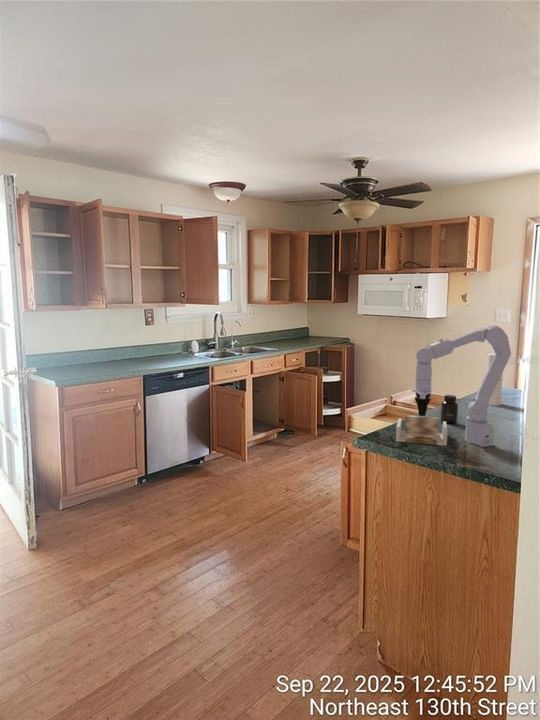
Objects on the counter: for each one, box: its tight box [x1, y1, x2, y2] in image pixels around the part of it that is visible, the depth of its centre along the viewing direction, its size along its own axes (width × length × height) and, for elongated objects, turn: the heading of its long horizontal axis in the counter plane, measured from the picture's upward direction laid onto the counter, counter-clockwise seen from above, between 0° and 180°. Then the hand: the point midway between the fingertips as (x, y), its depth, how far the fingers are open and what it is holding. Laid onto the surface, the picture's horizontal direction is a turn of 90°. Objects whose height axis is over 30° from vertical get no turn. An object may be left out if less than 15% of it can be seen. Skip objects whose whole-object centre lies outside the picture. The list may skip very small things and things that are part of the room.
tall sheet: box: [405, 414, 440, 435], centre depth 186 cm, size 12×2×8 cm, turn 72°
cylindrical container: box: [486, 353, 503, 407], centre depth 238 cm, size 7×7×25 cm
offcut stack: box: [405, 434, 437, 445], centre depth 179 cm, size 11×3×2 cm, turn 72°
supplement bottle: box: [439, 394, 459, 426], centre depth 205 cm, size 7×7×12 cm
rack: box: [395, 418, 448, 446], centre depth 183 cm, size 18×14×6 cm
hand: (422, 413), depth 185 cm, fingers open, 7 cm apart
